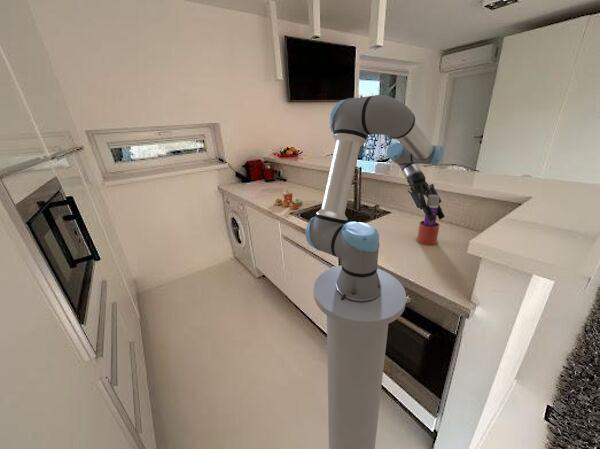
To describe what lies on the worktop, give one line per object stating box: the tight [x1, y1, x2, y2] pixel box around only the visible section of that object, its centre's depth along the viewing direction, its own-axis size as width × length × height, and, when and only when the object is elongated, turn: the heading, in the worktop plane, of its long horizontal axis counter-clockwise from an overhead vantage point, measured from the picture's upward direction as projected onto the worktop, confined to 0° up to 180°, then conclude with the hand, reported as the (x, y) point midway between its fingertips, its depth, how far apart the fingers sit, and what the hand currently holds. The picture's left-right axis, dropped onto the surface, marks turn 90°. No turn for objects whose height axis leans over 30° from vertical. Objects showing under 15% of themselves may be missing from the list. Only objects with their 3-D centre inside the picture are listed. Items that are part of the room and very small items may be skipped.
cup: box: [416, 220, 441, 246], centre depth 115 cm, size 8×8×9 cm
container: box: [423, 194, 441, 227], centre depth 111 cm, size 5×5×15 cm
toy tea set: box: [273, 189, 303, 211], centre depth 179 cm, size 26×16×10 cm, turn 43°
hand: (437, 219), depth 108 cm, fingers closed on container, 5 cm apart
